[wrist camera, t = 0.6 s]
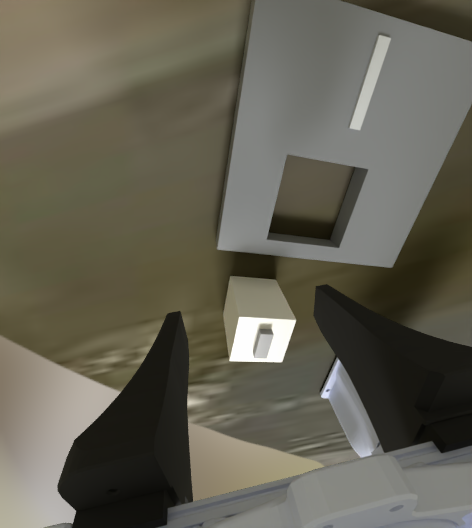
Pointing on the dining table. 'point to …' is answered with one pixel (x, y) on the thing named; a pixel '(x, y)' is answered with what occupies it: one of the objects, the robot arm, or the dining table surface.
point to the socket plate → (341, 123)
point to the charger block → (257, 320)
